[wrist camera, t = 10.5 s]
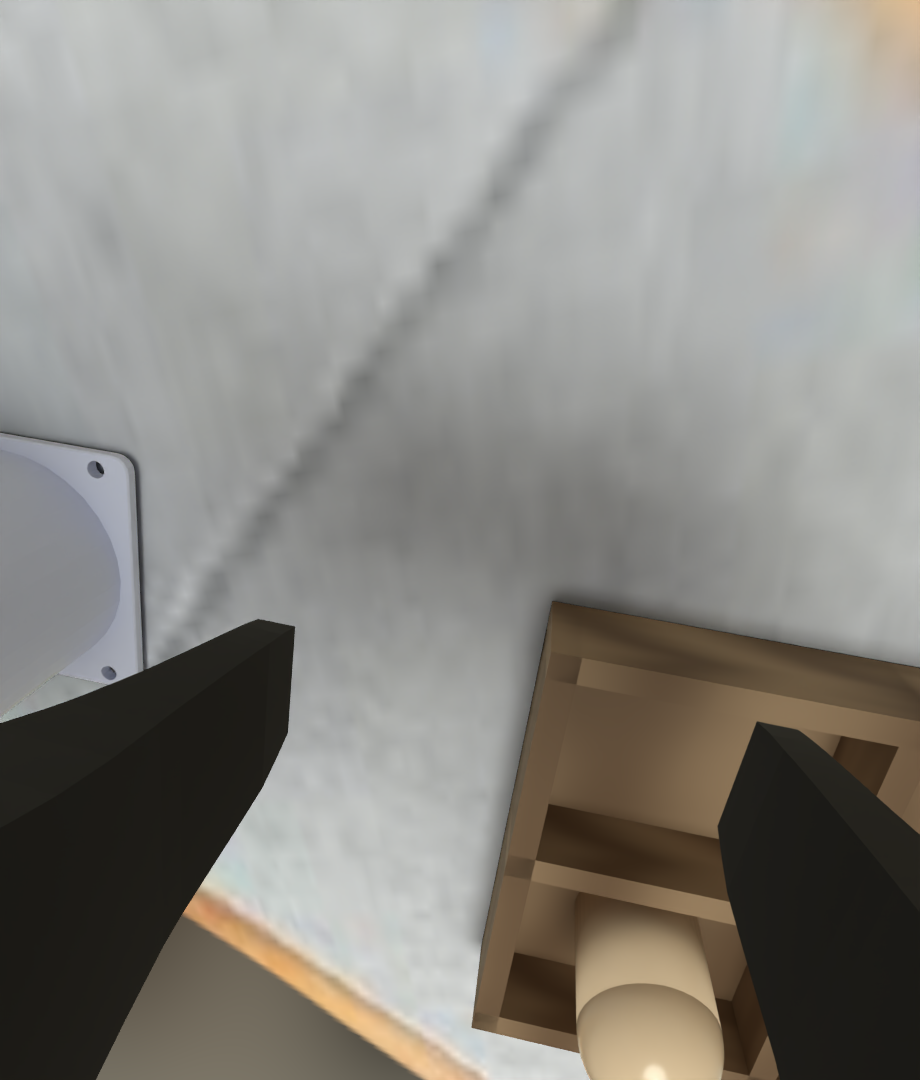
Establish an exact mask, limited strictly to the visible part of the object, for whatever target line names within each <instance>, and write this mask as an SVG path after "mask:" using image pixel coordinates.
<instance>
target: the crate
mask: <svg viewBox="0 0 920 1080" xmlns="http://www.w3.org/2000/svg"><path fill="white" fill-rule="evenodd" d="M757 721H758V722H763V723H768V724H773V725H777V726H782V727H787V728H792V729H797V730H799V731H801V732H802V733H803V734H805V735H806V736H807V737H809V738H810V739H811V740H813V741H814V742H815V743H816V744H817V745H819V746H820V747H821V748H822V749H823V750H825V751H826V752H827V753H828V754H829V755H830V756H832V757H833V758H834V759H835V760H836V761H837V762H838V763H840V764H841V765H842V766H843V767H844V768H845V769H846V770H847V771H849V772H850V773H851V774H852V775H853V776H854V777H855V778H856V779H858V780H859V781H860V782H861V783H862V784H863V785H864V786H865V787H866V788H868V789H869V790H870V791H871V792H872V793H873V794H874V795H875V796H877V797H878V798H879V799H880V800H881V801H882V802H883V803H884V804H886V805H887V806H888V807H889V808H890V809H891V810H892V811H893V812H895V813H896V814H897V815H898V816H899V817H900V818H901V819H903V820H904V821H905V822H906V823H907V824H908V825H909V826H911V827H912V828H913V829H914V830H915V831H916V832H917V833H919V834H920V668H916V667H911V666H905V665H900V664H894V663H889V662H883V661H878V660H872V659H867V658H861V657H856V656H850V655H845V654H839V653H834V652H828V651H823V650H817V649H812V648H807V647H801V646H796V645H790V644H785V643H779V642H774V641H768V640H763V639H757V638H752V637H746V636H741V635H735V634H730V633H724V632H719V631H713V630H708V629H703V628H697V627H692V626H686V625H681V624H675V623H670V622H664V621H659V620H653V619H648V618H642V617H637V616H631V615H626V614H620V613H615V612H609V611H604V610H598V609H593V608H588V607H582V606H577V605H571V604H566V603H560V602H555V601H552V605H551V610H550V615H549V620H548V624H547V629H546V634H545V639H544V644H543V649H542V654H541V659H540V663H539V668H538V673H537V678H536V683H535V688H534V693H533V697H532V702H531V707H530V712H529V717H528V722H527V727H526V732H525V736H524V741H523V746H522V751H521V756H520V761H519V766H518V770H517V775H516V780H515V785H514V790H513V795H512V800H511V804H510V809H509V814H508V819H507V824H506V829H505V834H504V839H503V843H502V848H501V853H500V858H499V863H498V868H497V873H496V877H495V882H494V887H493V892H492V897H491V902H490V907H489V912H488V916H487V921H486V926H485V931H484V936H483V941H482V946H481V954H480V962H479V970H478V979H477V987H476V995H475V1003H474V1012H473V1020H472V1028H475V1029H479V1030H484V1031H488V1032H492V1033H496V1034H500V1035H505V1036H509V1037H513V1038H517V1039H522V1040H526V1041H530V1042H534V1043H538V1044H543V1045H547V1046H551V1047H555V1048H560V1049H564V1050H568V1051H572V1052H576V1053H580V1051H579V1046H578V1041H577V1031H576V971H575V911H574V906H575V900H576V897H577V895H578V893H579V891H580V892H585V893H589V894H594V895H598V896H603V897H608V898H612V899H617V900H621V901H626V902H631V903H635V904H640V905H645V906H649V907H654V908H658V909H663V910H668V911H672V912H677V913H681V914H686V915H691V916H695V917H698V921H699V926H700V931H701V935H702V940H703V945H704V949H705V954H706V959H707V963H708V968H709V973H710V978H711V982H712V987H713V992H714V996H715V1001H716V1006H717V1010H718V1015H719V1020H720V1025H721V1029H722V1035H723V1042H724V1066H723V1073H722V1077H721V1080H780V1078H779V1074H778V1070H777V1066H776V1062H775V1058H774V1054H773V1051H772V1048H771V1044H770V1041H769V1037H768V1034H767V1030H766V1027H765V1023H764V1020H763V1017H762V1013H761V1010H760V1006H759V1003H758V999H757V996H756V992H755V989H754V986H753V982H752V979H751V975H750V972H749V968H748V965H747V962H746V958H745V955H744V951H743V948H742V944H741V941H740V937H739V934H738V930H737V926H736V923H735V919H734V916H733V912H732V909H731V905H730V901H729V897H728V894H727V889H726V882H725V876H724V870H723V864H722V857H721V850H720V842H719V834H718V827H717V826H718V823H719V821H720V818H721V815H722V813H723V810H724V807H725V805H726V802H727V799H728V797H729V794H730V791H731V789H732V786H733V783H734V781H735V778H736V775H737V773H738V770H739V767H740V765H741V762H742V759H743V757H744V754H745V751H746V749H747V746H748V743H749V741H750V738H751V735H752V733H753V730H754V727H755V725H756V722H757Z"/></svg>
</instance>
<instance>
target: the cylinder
mask: <svg viewBox="0 0 920 1080" xmlns="http://www.w3.org/2000/svg"><path fill="white" fill-rule="evenodd" d="M574 911H575V971H576V1031H577V1041H578V1046H579V1051H580V1056H581V1059H582V1062H583V1064H584V1067H585V1070H586V1072H587V1074H588V1076H589V1078H590V1080H721V1077H722V1073H723V1066H724V1042H723V1035H722V1029H721V1025H720V1020H719V1015H718V1010H717V1006H716V1001H715V996H714V992H713V987H712V982H711V978H710V973H709V968H708V963H707V959H706V954H705V949H704V945H703V940H702V935H701V931H700V926H699V921H698V917H695V916H691V915H686V914H681V913H677V912H672V911H668V910H663V909H658V908H654V907H649V906H645V905H640V904H635V903H631V902H626V901H621V900H617V899H612V898H608V897H603V896H598V895H594V894H589V893H585V892H580V891H579V893H578V895H577V897H576V900H575V906H574Z"/></svg>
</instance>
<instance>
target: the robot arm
mask: <svg viewBox="0 0 920 1080" xmlns="http://www.w3.org/2000/svg"><path fill="white" fill-rule="evenodd" d="M96 462H99V463H100V464H101V465H102V466H103V469H104V475H103V474H101V473H100V472H99V471H98V470H97V468H96ZM294 634H295V626H290V625H285V624H280V623H275V622H270V621H265V620H260V619H257V620H255V621H252V622H249V623H247V624H244V625H242V626H240V627H238V628H235V629H233V630H231V631H229V632H227V633H224V634H222V635H220V636H218V637H216V638H214V639H212V640H210V641H207V642H205V643H203V644H201V645H199V646H197V647H195V648H192V649H190V650H188V651H186V652H184V653H182V654H179V655H177V656H175V657H173V658H171V659H169V660H166V661H164V662H162V663H160V664H158V665H156V666H153V667H151V668H149V669H146V670H144V671H143V651H142V628H141V604H140V581H139V558H138V535H137V512H136V489H135V471H134V467H133V465H132V463H131V462H130V460H129V459H128V458H126V457H125V456H124V455H121V454H118V453H113V452H107V451H102V450H96V449H90V448H84V447H79V446H73V445H67V444H61V443H56V442H50V441H44V440H38V439H33V438H27V437H21V436H15V435H10V434H4V433H0V717H2V716H3V715H4V714H5V713H7V712H8V711H9V710H11V709H12V708H13V707H15V706H16V705H17V704H19V703H20V702H21V701H22V700H24V699H25V698H26V697H28V696H29V695H30V694H32V693H33V692H34V691H35V690H37V689H38V688H39V687H41V686H42V685H43V684H45V683H46V682H47V681H49V680H50V679H51V678H52V677H54V676H55V675H56V674H59V675H64V676H69V677H74V678H79V679H83V680H88V681H93V682H98V683H103V684H108V685H107V686H105V687H103V688H100V689H98V690H95V691H93V692H90V693H88V694H85V695H83V696H80V697H77V698H75V699H72V700H69V701H67V702H64V703H61V704H58V705H55V706H52V707H49V708H47V709H44V710H40V711H37V712H34V713H31V714H28V715H25V716H22V717H19V718H16V719H12V720H9V721H6V722H3V723H0V1080H96V1078H97V1076H98V1074H99V1072H100V1070H101V1068H102V1066H103V1064H104V1062H105V1060H106V1058H107V1056H108V1054H109V1052H110V1050H111V1048H112V1046H113V1044H114V1042H115V1040H116V1038H117V1036H118V1033H119V1032H120V1029H121V1027H122V1025H123V1023H124V1021H125V1019H126V1017H127V1015H128V1014H129V1012H130V1010H131V1008H132V1006H133V1004H134V1002H135V1000H136V998H137V996H138V994H139V992H140V990H141V988H142V986H143V984H144V982H145V980H146V979H147V976H148V975H149V973H150V971H151V969H152V967H153V965H154V963H155V961H156V959H157V957H158V955H159V953H160V951H161V949H162V948H163V946H164V944H165V942H166V941H167V939H168V937H169V935H170V934H171V932H172V930H173V929H174V927H175V925H176V923H177V922H178V920H179V918H180V917H181V915H182V913H183V912H184V910H185V909H186V907H187V906H188V904H189V902H190V901H191V899H192V898H193V896H194V895H195V893H196V891H197V890H198V888H199V887H200V885H201V884H202V882H203V881H204V879H205V877H206V876H207V874H208V873H209V871H210V870H211V868H212V866H213V865H214V863H215V862H216V860H217V859H218V857H219V855H220V854H221V852H222V851H223V849H224V848H225V846H226V845H227V843H228V841H229V840H230V838H231V837H232V835H233V834H234V832H235V830H236V829H237V827H238V826H239V824H240V823H241V821H242V819H243V818H244V816H245V815H246V813H247V811H248V810H249V808H250V807H251V805H252V803H253V802H254V800H255V799H256V797H257V795H258V794H259V792H260V791H261V789H262V787H263V785H264V783H265V781H266V779H267V777H268V775H269V773H270V771H271V768H272V766H273V764H274V762H275V760H276V758H277V756H278V753H279V751H280V749H281V747H282V745H283V742H284V740H285V738H286V736H287V734H288V722H289V708H290V693H291V678H292V664H293V649H294ZM109 667H112V668H113V669H114V670H115V671H116V673H114V672H112V671H111V669H110V668H109ZM717 827H718V834H719V842H720V850H721V857H722V864H723V870H724V876H725V882H726V889H727V894H728V897H729V901H730V905H731V909H732V912H733V916H734V919H735V923H736V926H737V930H738V934H739V937H740V941H741V944H742V948H743V951H744V955H745V958H746V962H747V965H748V968H749V972H750V975H751V979H752V982H753V986H754V989H755V992H756V996H757V999H758V1003H759V1006H760V1010H761V1013H762V1017H763V1020H764V1023H765V1027H766V1030H767V1034H768V1037H769V1041H770V1044H771V1048H772V1051H773V1054H774V1058H775V1062H776V1066H777V1070H778V1074H779V1078H780V1080H920V834H919V833H917V832H916V831H915V830H914V829H913V828H912V827H911V826H909V825H908V824H907V823H906V822H905V821H904V820H903V819H901V818H900V817H899V816H898V815H897V814H896V813H895V812H893V811H892V810H891V809H890V808H889V807H888V806H887V805H886V804H884V803H883V802H882V801H881V800H880V799H879V798H878V797H877V796H875V795H874V794H873V793H872V792H871V791H870V790H869V789H868V788H866V787H865V786H864V785H863V784H862V783H861V782H860V781H859V780H858V779H856V778H855V777H854V776H853V775H852V774H851V773H850V772H849V771H847V770H846V769H845V768H844V767H843V766H842V765H841V764H840V763H838V762H837V761H836V760H835V759H834V758H833V757H832V756H830V755H829V754H828V753H827V752H826V751H825V750H823V749H822V748H821V747H820V746H819V745H817V744H816V743H815V742H814V741H813V740H811V739H810V738H809V737H807V736H806V735H805V734H803V733H802V732H801V731H799V730H797V729H792V728H787V727H782V726H777V725H773V724H768V723H763V722H758V721H757V722H756V725H755V727H754V730H753V733H752V735H751V738H750V741H749V743H748V746H747V749H746V751H745V754H744V757H743V759H742V762H741V765H740V767H739V770H738V773H737V775H736V778H735V781H734V783H733V786H732V789H731V791H730V794H729V797H728V799H727V802H726V805H725V807H724V810H723V813H722V815H721V818H720V821H719V823H718V826H717Z"/></svg>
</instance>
